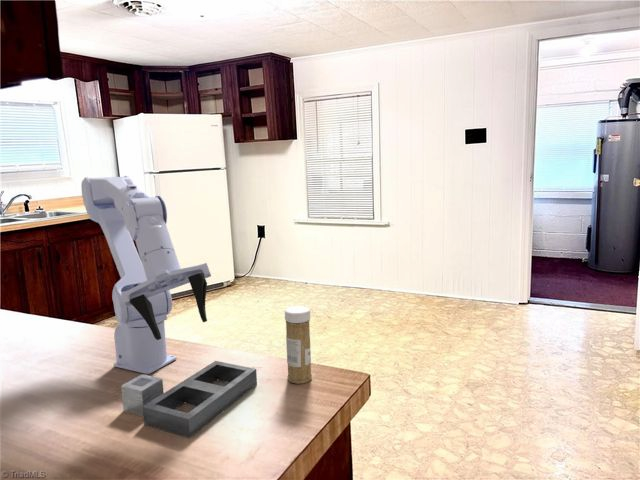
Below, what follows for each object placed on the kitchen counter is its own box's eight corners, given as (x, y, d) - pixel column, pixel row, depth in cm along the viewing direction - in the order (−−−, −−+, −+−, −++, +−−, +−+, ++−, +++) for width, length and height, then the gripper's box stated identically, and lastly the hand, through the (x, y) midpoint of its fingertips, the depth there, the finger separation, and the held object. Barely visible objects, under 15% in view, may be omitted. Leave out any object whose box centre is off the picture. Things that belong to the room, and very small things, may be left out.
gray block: (123, 411, 78) (121, 385, 77) (144, 398, 82) (142, 373, 81) (144, 417, 76) (141, 390, 75) (164, 403, 80) (162, 378, 79)
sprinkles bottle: (316, 380, 87) (315, 309, 85) (295, 387, 85) (292, 314, 82) (303, 371, 91) (301, 303, 89) (282, 377, 88) (280, 308, 86)
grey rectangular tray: (144, 424, 74) (142, 406, 73) (216, 375, 90) (215, 360, 89) (190, 438, 70) (188, 419, 69) (257, 384, 86) (256, 369, 85)
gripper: (108, 262, 77) (129, 340, 72) (195, 233, 80) (221, 305, 75) (121, 278, 83) (141, 350, 79) (202, 250, 87) (226, 317, 82)
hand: (181, 329), depth 77 cm, fingers open, 7 cm apart
